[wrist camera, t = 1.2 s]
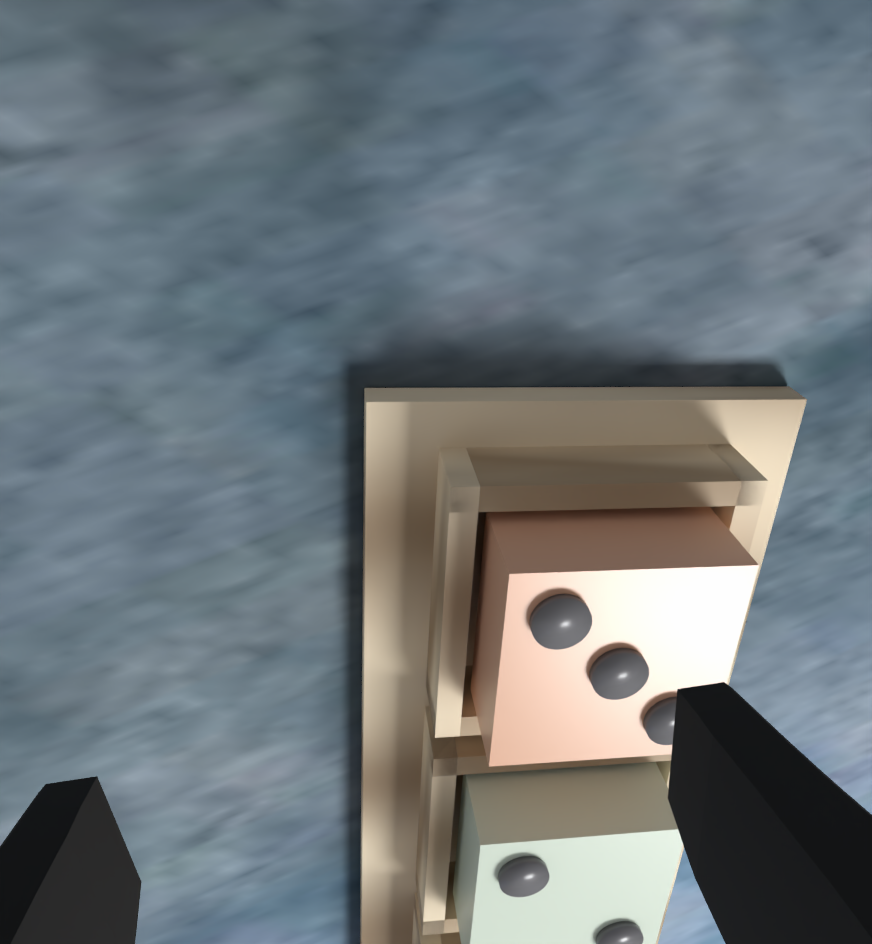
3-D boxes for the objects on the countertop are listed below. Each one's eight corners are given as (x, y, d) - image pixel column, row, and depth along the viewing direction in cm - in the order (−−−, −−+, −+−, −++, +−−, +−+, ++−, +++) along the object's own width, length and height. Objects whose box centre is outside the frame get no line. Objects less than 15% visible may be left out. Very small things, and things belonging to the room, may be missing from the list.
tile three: (667, 678, 20) (711, 758, 18) (470, 689, 20) (490, 773, 18) (707, 504, 18) (764, 571, 16) (486, 509, 18) (511, 579, 15)
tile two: (622, 877, 24) (654, 965, 22) (452, 892, 23) (467, 984, 21) (650, 752, 22) (690, 835, 19) (463, 764, 21) (482, 852, 19)
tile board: (630, 992, 30) (655, 1069, 28) (359, 1022, 29) (363, 1105, 27) (789, 386, 19) (852, 432, 17) (364, 387, 18) (371, 438, 16)
